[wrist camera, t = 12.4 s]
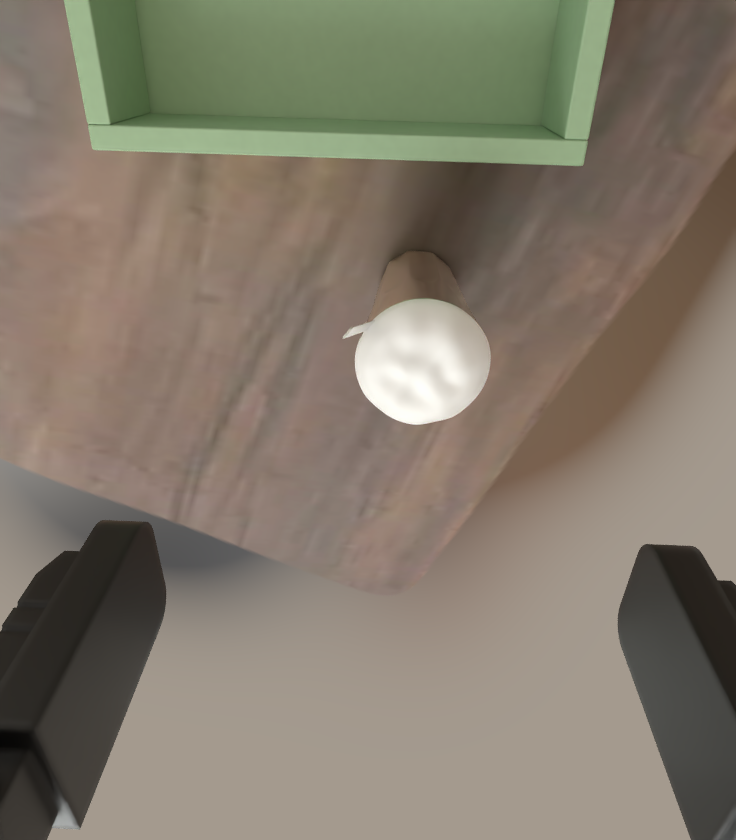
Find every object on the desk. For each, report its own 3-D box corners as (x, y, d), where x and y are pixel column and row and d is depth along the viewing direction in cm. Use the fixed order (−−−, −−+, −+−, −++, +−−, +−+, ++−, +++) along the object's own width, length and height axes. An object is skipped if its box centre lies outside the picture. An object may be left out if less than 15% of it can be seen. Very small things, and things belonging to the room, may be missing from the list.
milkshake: (397, 198, 26) (396, 275, 17) (489, 279, 28) (529, 385, 19) (331, 279, 28) (301, 384, 19) (420, 350, 30) (429, 476, 21)
